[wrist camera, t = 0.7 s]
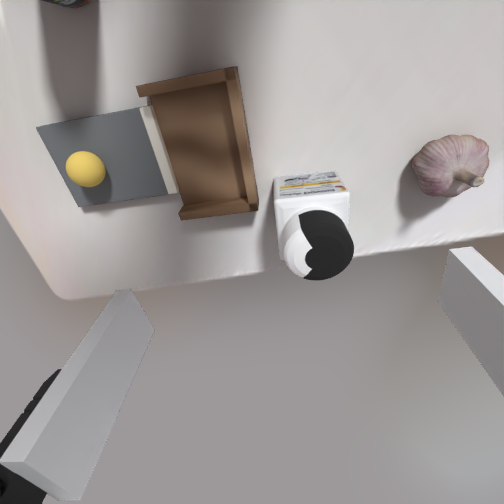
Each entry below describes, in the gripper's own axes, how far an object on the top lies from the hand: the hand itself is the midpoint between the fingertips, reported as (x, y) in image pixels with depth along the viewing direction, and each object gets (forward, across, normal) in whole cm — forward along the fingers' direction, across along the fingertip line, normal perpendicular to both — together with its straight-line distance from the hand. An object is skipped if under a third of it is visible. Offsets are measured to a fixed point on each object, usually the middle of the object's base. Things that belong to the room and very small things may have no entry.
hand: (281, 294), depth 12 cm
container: (+26, +3, -7) cm, 27 cm away
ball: (+22, -22, +2) cm, 31 cm away
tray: (+26, -8, +2) cm, 27 cm away
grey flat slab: (+26, -20, +2) cm, 32 cm away
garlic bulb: (+26, +19, -5) cm, 32 cm away
